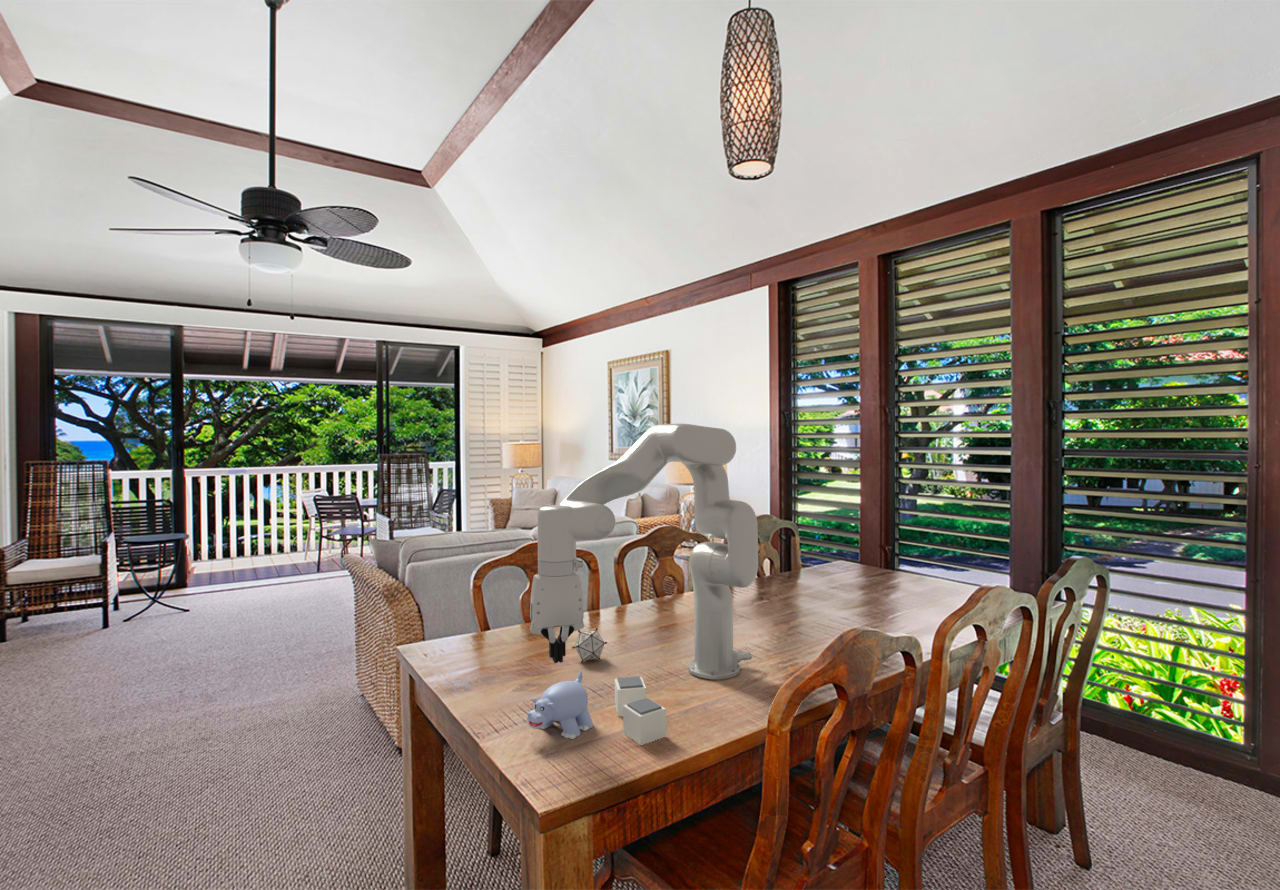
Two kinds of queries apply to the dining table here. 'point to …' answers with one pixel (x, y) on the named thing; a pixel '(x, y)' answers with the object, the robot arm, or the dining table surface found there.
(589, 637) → the game die
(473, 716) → the dining table surface
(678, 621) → the dining table surface
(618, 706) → the block three
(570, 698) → the hippopotamus toy
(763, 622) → the dining table surface
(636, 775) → the dining table surface
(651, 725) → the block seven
